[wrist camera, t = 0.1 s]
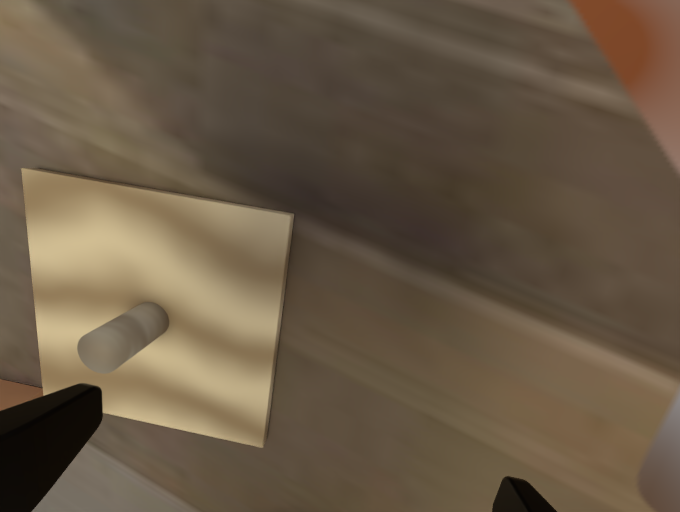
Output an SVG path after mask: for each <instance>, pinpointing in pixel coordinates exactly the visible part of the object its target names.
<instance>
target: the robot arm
mask: <svg viewBox="0 0 680 512" xmlns="http://www.w3.org/2000/svg"><path fill="white" fill-rule="evenodd" d="M102 417H103V404H102V390H101V388H100V387H99V386H96V385H92V384H87V383H79V384H76V385H73V386H70V387H67V388H64V389H61V390H58V391H56V392H53V393H50V394H47V395H44V396H41V397H38V398H36V399H33V400H30V401H27V402H24V403H21V404H18V405H15V406H13V407H10V408H7V409H4V410H1V411H0V512H31V511H32V510H33V509H34V508H35V507H36V506H37V505H38V503H39V502H40V501H41V500H42V499H43V497H44V496H45V495H46V494H47V492H48V491H49V490H50V489H51V488H52V486H53V485H54V484H55V482H56V481H57V480H58V479H59V477H60V476H61V475H62V473H63V472H64V471H65V470H66V468H67V467H68V466H69V464H70V463H71V462H72V461H73V459H74V458H75V457H76V455H77V454H78V453H79V452H80V450H81V449H82V448H83V446H84V445H85V444H86V443H87V441H88V440H89V439H90V437H91V436H92V435H93V434H94V432H95V431H96V430H97V428H98V427H99V425H100V423H101V421H102ZM492 512H557V511H556V510H555V509H554V508H553V507H552V506H551V505H550V504H549V503H548V502H547V501H546V500H545V499H544V498H543V497H542V496H541V495H540V494H539V493H538V492H537V491H536V490H535V488H534V487H533V486H532V485H531V484H529V483H528V482H527V481H525V480H523V479H519V478H514V477H510V476H506V477H505V478H503V480H502V482H501V485H500V487H499V490H498V493H497V495H496V498H495V500H494V503H493V508H492Z"/></svg>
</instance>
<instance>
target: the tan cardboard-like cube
mask: <svg viewBox="0 0 680 512" xmlns="http://www.w3.org/2000/svg"><path fill="white" fill-rule="evenodd" d="M41 396H43V388H39V387H34V386H30V385H25V384H20V383H16V382H11V381H7V380H2V379H0V411H1V410H4V409H7V408H10V407H13V406H15V405H18V404H21V403H24V402H27V401H30V400H33V399H36V398H38V397H41Z"/></svg>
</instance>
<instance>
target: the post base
mask: <svg viewBox="0 0 680 512" xmlns="http://www.w3.org/2000/svg"><path fill="white" fill-rule="evenodd" d="M21 169H22V179H23V190H24V200H25V210H26V221H27V231H28V241H29V252H30V262H31V272H32V283H33V293H34V303H35V314H36V324H37V334H38V344H39V355H40V365H41V375H42V386H43V396H44V395H47V394H50V393H53V392H56V391H58V390H61V389H64V388H67V387H70V386H73V385H76V384H79V383H87V384H92V385H96V386H99V387H100V388H101V390H102V404H103V413H107V414H112V415H116V416H121V417H125V418H130V419H134V420H139V421H143V422H148V423H152V424H157V425H161V426H166V427H170V428H175V429H179V430H184V431H189V432H193V433H198V434H202V435H207V436H211V437H216V438H220V439H225V440H229V441H234V442H238V443H243V444H247V445H252V446H256V447H261V448H263V446H264V443H265V441H266V438H267V432H268V424H269V416H270V408H271V400H272V392H273V384H274V376H275V367H276V359H277V351H278V343H279V335H280V327H281V319H282V311H283V303H284V295H285V287H286V278H287V270H288V262H289V254H290V246H291V238H292V230H293V222H294V214H293V213H288V212H282V211H276V210H271V209H265V208H259V207H254V206H248V205H242V204H236V203H231V202H225V201H219V200H214V199H208V198H202V197H197V196H191V195H185V194H180V193H174V192H168V191H163V190H157V189H151V188H146V187H140V186H134V185H129V184H123V183H117V182H112V181H106V180H100V179H95V178H89V177H83V176H77V175H72V174H66V173H60V172H55V171H49V170H43V169H38V168H21Z"/></svg>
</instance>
